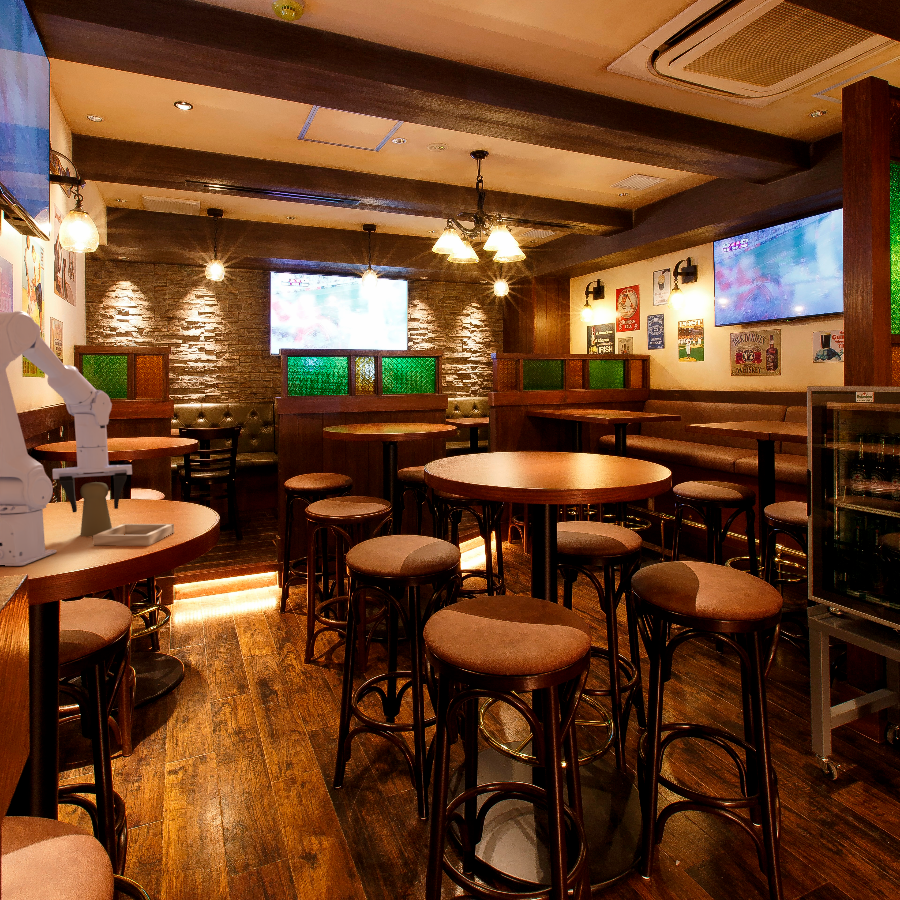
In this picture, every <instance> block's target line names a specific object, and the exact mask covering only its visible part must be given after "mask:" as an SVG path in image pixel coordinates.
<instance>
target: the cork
mask: <svg viewBox="0 0 900 900" xmlns="http://www.w3.org/2000/svg"><path fill="white" fill-rule="evenodd" d="M79 493H80V496H81V498H82V499H83V506H82V517H81V527H80V536H81V537H83V536H93V535H96V534H98V533H101V532H103V531H106V530H109V529H111V528H113V527H112V520H111V515H110V511H109V506H108V501H107V496H108V495H109V486H108V485H107V483H104V482H100V481H99V482H97V481H95V482H87V483H84V484H83V485H81V487H80V490H79Z"/></svg>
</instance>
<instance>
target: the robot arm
mask: <svg viewBox="0 0 900 900" xmlns="http://www.w3.org/2000/svg"><path fill="white" fill-rule="evenodd" d="M20 356H23V357H25V358H26V359H27V360H28V361H30V362H31V363H32V364H33V365H34V366H36V367H37V368H38V369H39V370H40V371H42V372H43V373H44V374H45V375H46V376H47V385H48V386H49V387H50V388H51V389H52V390H53V391H54V392H56V394H58V396H60V397H61V398H62V399H63V400H62V401H63V402H64V404H65V405H66V410H67V412H68V414H69V415H71V416H73V417H74V429H75V430H74V431H75V433H74V434H75V442H76V443H75V445H76V448H75V450H76V462H77V465H76V466H74V467H72V466H71V467H64V468H63V467H62V468H53V469H52V479H53V480H59V481H58V482H59V484H60V486H61V487H62V489H63V490H64V493H65V494H66V496H67V498H68V500H69V503H70V507H71V511H72V513H77V512H78V507H77V506H78V505H77V500H76V491H75V478H84V477H85V478H87V477H103V476H113V489H114V491H113V492H114V494H113V495H114V496H113V497H114V499H113V507H114V510H117V509H119V502H120V497H121V492H122V491H123V488H124V485H125V484H126V481H127V478H128V476H127V475H133V466H132V464H111V465H110V464H109V452H108V451H109V449H108V432H107V430H108V429H107V425H109V422H110V418H109V417H110V414H111V411H112V406H113V403H112V402H111V398H110V397H109V396H110V395H108V393H106V392H105V391H103V390H101V389H96V388H95V387H94V386H93V385H92V384H91V383H90V382H89V381H88V379H86V377H84V376H83V375H82V374H81V373H80V372H79V369H78V367H76V366H73V365H70V364H64V363H63V362H62V361H61V360H60V358H59V357H58V356H57V355H56V354H55V352H54V351H53V350H52V349H51V348H50V346H49V345H48V344H47V343H46V341H45V340H44V339H43V338H42V337H41V327H40V325H39V324H38V323H37V322H36V321H34V318H33V317H32V316H31V315H30V314H29V313H28V312H26V311H22V310H16V311H0V565H5V567H6V566H7V567H11V566H14V567H21V566H25V565H28V564H31V563H33V562H35V561H37V560H38V561H39V560H40V559H43V558H45V557H48V556H51V555H53V554H55V553H57V549H46V543H45V542H46V541H45V527H44V526H45V525H44V524H45V523H44V511H43V509H47V505H48V504H49V503H50V501H51V499H52V497H53V491H54V490H53V489H54V488H53V482H52V481H51V478H49V476H48V475H47V474H46V472H45V468H44V465H43V464H41V462H39V461H37V460H36V459H35V458H33V457H32V456H30V455H29V454H28V450H27V446H26V442H25V438H24V434H23V431H22V428H21V423H20V420H19V416H18V412H17V408H16V404H15V400H14V397H13V394H12V389H11V385H10V381H9V377H8V374H7V368H8V366H9V365H10V363H11V362H14V361H15V360H16V359H18V358H19V357H20Z"/></svg>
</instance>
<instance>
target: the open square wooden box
mask: <svg viewBox="0 0 900 900" xmlns="http://www.w3.org/2000/svg"><path fill="white" fill-rule="evenodd" d="M172 533H173V534H175V524H174V523H122V524H119V525H116V526H113V527H112V528H111V529H109V530H106V531H103V532H101V533H98V534H96V535H93V537H92V543H93V545H116V546H115V547H117V546H118V547H120V546H122V547H125V546H127V547H129V546H133V547H135V546H136V547H137V546H138V547H141V546H142V547H148V546H151V545H154V544H155V543H157V542H159V541H161V540H163V539H165V538H167V537H169V536H171V535H173V534H172ZM124 534H125V535H124ZM170 534H171V535H170ZM168 535H169V536H168ZM166 536H167V537H166ZM164 537H165V538H164Z"/></svg>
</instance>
